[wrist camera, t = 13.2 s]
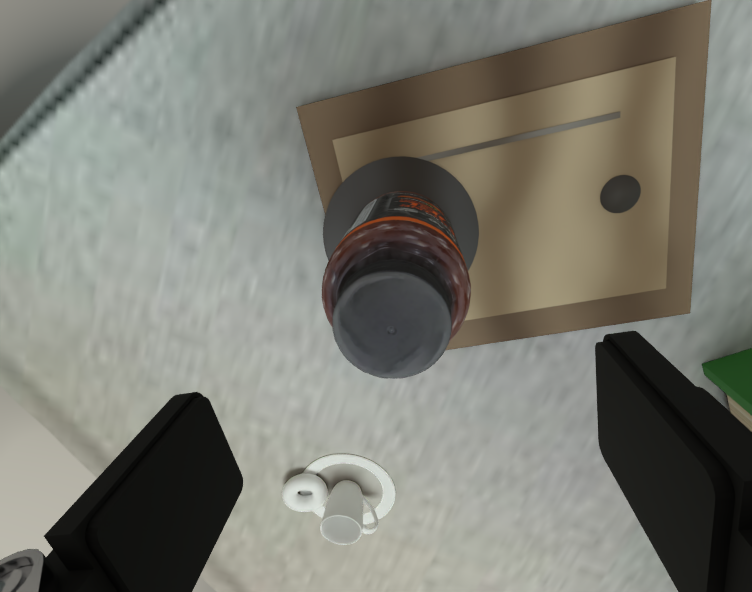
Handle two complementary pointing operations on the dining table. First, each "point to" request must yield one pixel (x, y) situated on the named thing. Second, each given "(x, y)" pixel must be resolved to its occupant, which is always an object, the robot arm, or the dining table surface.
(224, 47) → the dining table surface
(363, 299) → the supplement bottle
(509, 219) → the brown flat wooden board
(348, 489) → the teacup and saucer
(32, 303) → the dining table surface
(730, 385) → the hardback book
